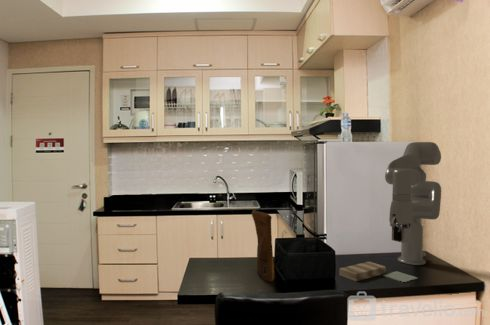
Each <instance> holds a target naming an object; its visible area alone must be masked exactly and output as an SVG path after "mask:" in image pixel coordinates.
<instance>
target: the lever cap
mask: <svg viewBox="0 0 490 325" xmlns="http://www.w3.org/2000/svg"><path fill="white" fill-rule="evenodd" d="M396 226H397V225H396ZM397 227H398V226H397ZM400 232H401V241H396V240H394V231H393V228H392V227H391V241H393V242H394V241H395V242H398V243H401V244H402V243H407V242H411V228H409V227H403V226H402V225H401V229H400Z"/></svg>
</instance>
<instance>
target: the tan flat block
mask: <svg viewBox="0 0 490 325" xmlns="http://www.w3.org/2000/svg"><path fill="white" fill-rule="evenodd" d="M386 270H387V268H386V266H385V265H382V264H378V263H375V262H372V261H366V262H362V263H356V264H353V265H349V266H344V267H340V268H339V271H338V272H339V273H338V274H339V276H340V277H343V278H346V279H348V280H351V281H354V282H358V281H362V280H366V279H369V278H374V277H376V276H381V275H385V274H387V273H386V272H387V271H386Z"/></svg>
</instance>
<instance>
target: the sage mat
mask: <svg viewBox="0 0 490 325" xmlns="http://www.w3.org/2000/svg"><path fill="white" fill-rule="evenodd" d="M382 277H386V278H387V279H391V280H393V281H397V282H400V281H401V282H400V283H403V282H405V283H408V282H412V281H415V280H418V279H419V277H416V276H414V275H410V274H407V273H403V272H400V271H397V270H396V271H392V272H390V273H385V274H382ZM411 280H412V281H411Z"/></svg>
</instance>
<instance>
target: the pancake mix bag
mask: <svg viewBox="0 0 490 325" xmlns="http://www.w3.org/2000/svg"><path fill="white" fill-rule="evenodd" d="M251 217H252V220H253V222H254V225H255V227H254V228H255V231H256V232H255V233H256V237H257V248H256V250H257V251H256V253H257V254H256V273H257V274H258V275H259V276H260V277H261V279H262V280H263V281H266V282H270V283H271V282H273V281H274V280H275V268H274V255H273V254H274V253H273V243H272V241H273V240H272V238H273V237H272V215H270V214H268V213H266V212H262V211H258V210H255V209H253V210H252V211H251Z"/></svg>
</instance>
